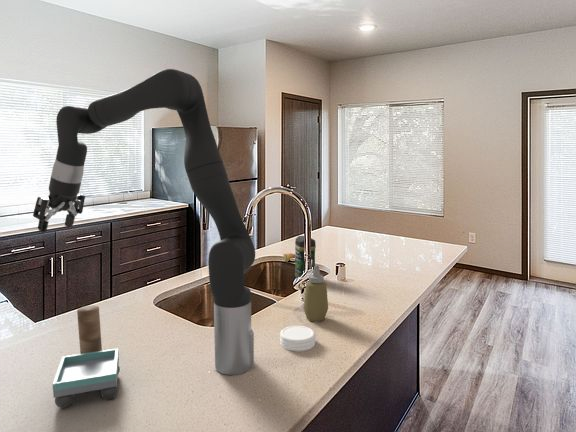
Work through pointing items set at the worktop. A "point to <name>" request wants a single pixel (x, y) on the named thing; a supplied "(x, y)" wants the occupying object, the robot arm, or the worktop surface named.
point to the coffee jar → (302, 255)
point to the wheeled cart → (86, 375)
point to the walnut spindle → (89, 329)
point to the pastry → (288, 257)
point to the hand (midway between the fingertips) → (55, 228)
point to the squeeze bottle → (316, 297)
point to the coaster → (297, 338)
